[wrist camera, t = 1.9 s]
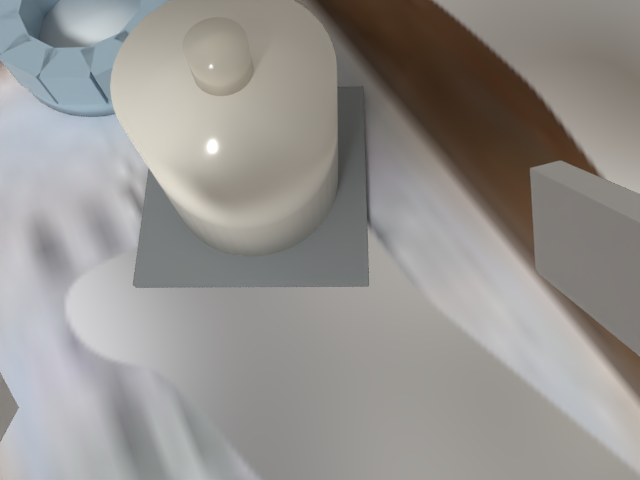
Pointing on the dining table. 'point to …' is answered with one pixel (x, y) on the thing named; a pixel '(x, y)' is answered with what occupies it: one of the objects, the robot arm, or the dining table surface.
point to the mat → (278, 268)
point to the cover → (234, 117)
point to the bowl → (68, 48)
